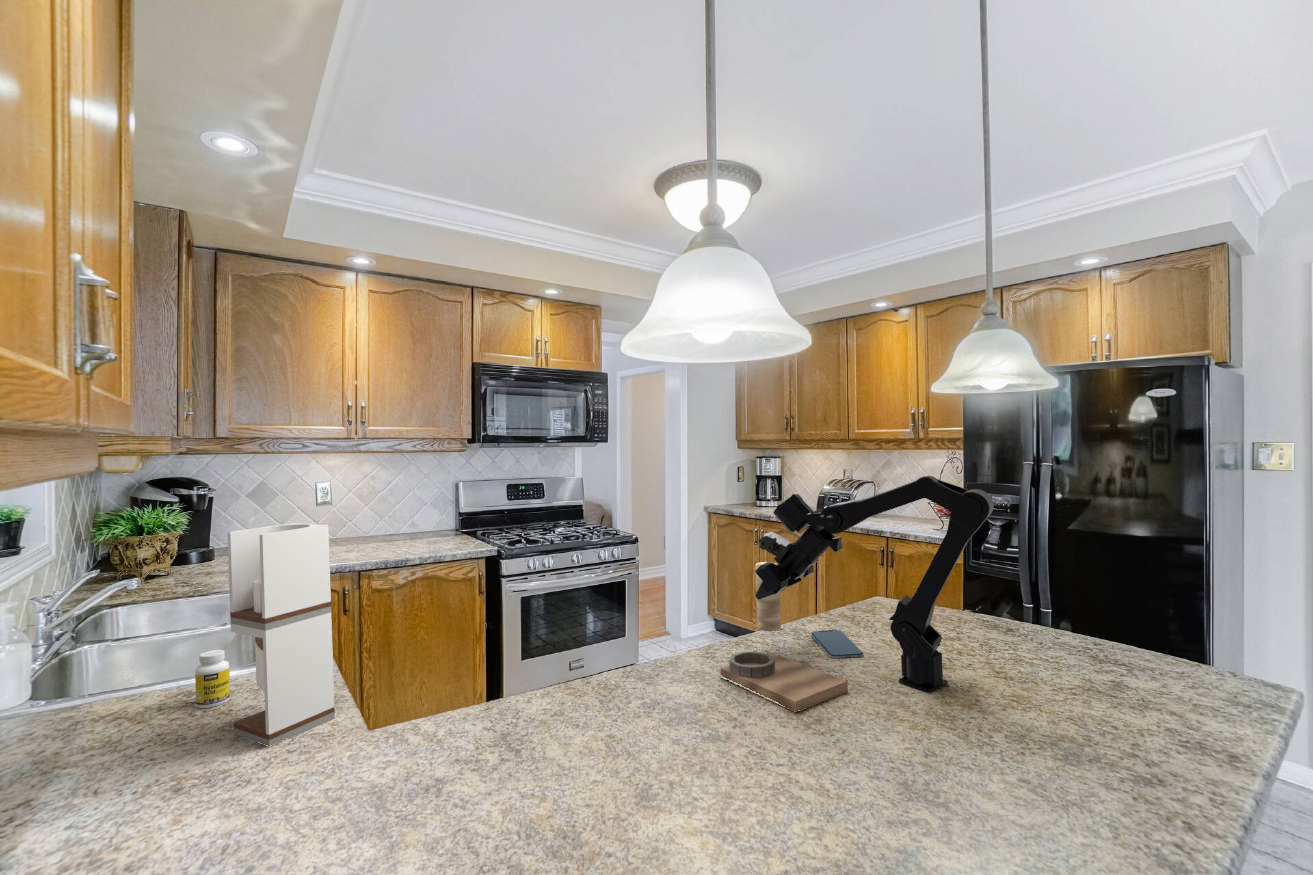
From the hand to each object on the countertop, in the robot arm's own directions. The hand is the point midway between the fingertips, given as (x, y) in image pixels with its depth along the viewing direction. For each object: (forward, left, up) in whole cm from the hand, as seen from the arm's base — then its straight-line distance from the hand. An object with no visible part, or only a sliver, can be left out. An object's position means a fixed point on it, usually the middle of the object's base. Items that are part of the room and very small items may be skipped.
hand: (762, 594), depth 135 cm
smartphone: (-7, -16, -14) cm, 22 cm away
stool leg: (-1, 0, -7) cm, 7 cm away
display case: (+28, +90, -13) cm, 95 cm away
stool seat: (-14, +10, -13) cm, 22 cm away
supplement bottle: (+49, +101, -13) cm, 113 cm away
